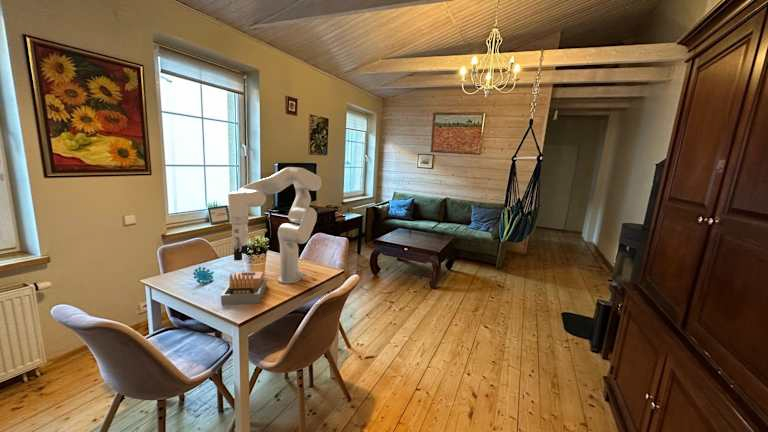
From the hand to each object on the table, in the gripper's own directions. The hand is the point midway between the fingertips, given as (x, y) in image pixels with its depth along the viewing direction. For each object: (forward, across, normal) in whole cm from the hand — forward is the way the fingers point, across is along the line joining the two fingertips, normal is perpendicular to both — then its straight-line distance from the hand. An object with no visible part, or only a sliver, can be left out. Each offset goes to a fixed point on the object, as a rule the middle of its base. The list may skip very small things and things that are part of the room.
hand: (241, 256), depth 138 cm
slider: (+20, +12, 0) cm, 23 cm away
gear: (+22, +24, +24) cm, 41 cm away
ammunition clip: (+20, 0, 0) cm, 20 cm away
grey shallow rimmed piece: (+22, +7, 0) cm, 23 cm away
